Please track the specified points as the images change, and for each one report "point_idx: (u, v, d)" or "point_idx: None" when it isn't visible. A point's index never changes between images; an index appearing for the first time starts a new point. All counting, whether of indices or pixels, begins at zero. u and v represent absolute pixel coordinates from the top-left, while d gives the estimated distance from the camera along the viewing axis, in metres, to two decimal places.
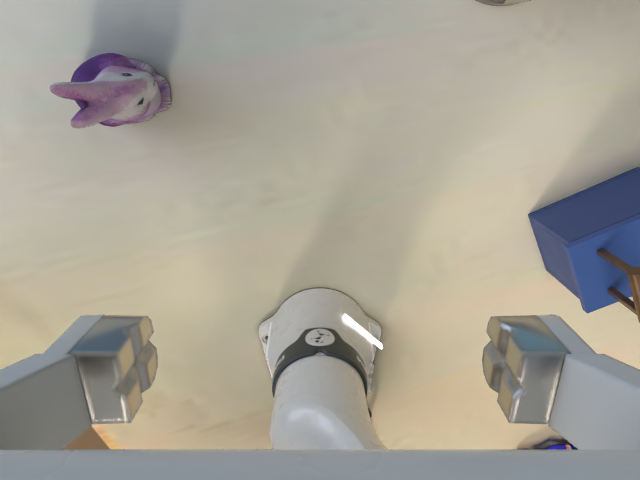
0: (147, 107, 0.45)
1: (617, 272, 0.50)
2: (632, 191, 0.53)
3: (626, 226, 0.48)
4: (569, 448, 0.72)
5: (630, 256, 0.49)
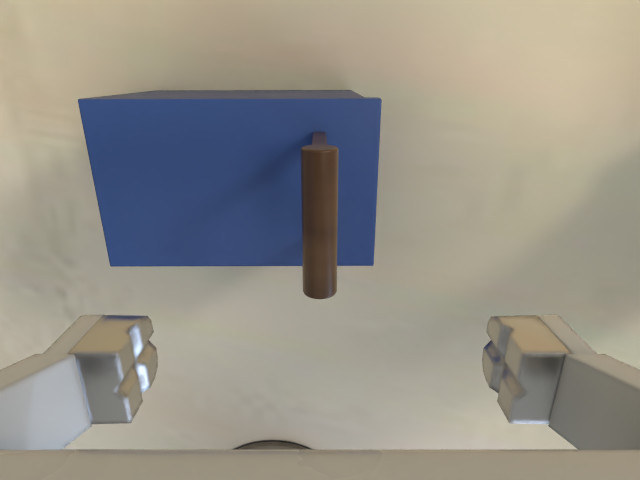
0: None
1: (296, 173, 0.24)
2: None
3: (263, 261, 0.26)
4: None
5: (267, 198, 0.24)
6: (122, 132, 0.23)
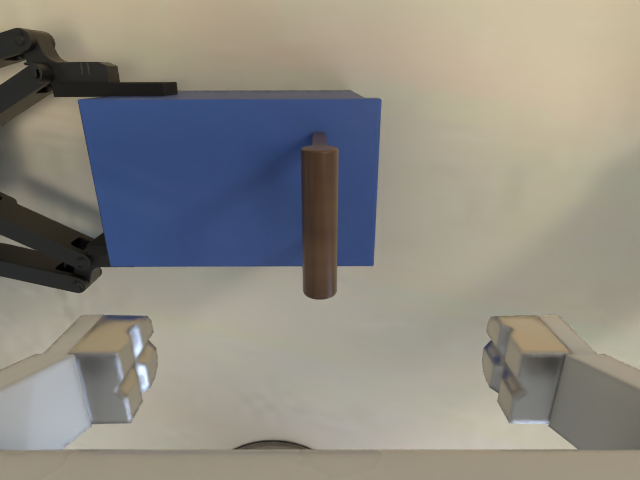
0: None
1: (296, 174, 0.24)
2: None
3: (263, 262, 0.26)
4: None
5: (267, 198, 0.24)
6: (122, 132, 0.23)
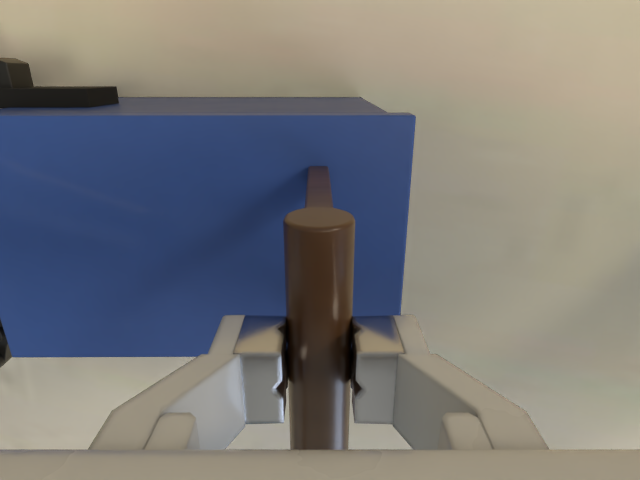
0: None
1: None
2: None
3: None
4: None
5: (239, 263, 0.16)
6: (13, 166, 0.15)
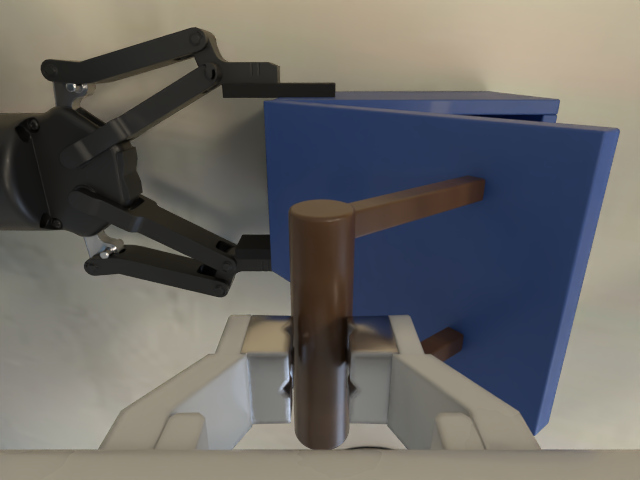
0: None
1: (436, 234, 0.15)
2: None
3: None
4: None
5: (397, 256, 0.17)
6: (287, 139, 0.21)
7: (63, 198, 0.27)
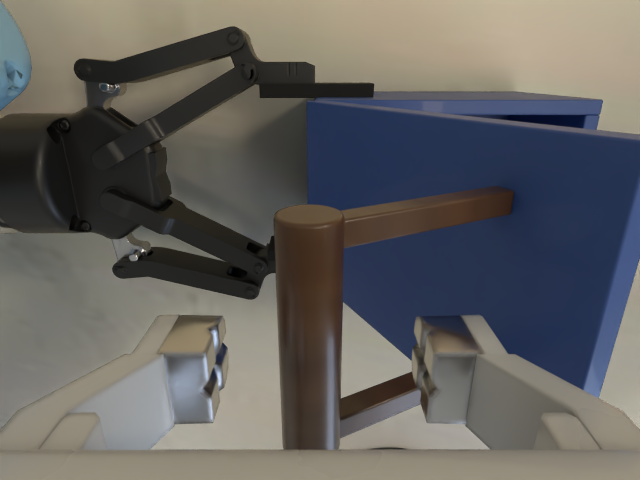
0: None
1: (462, 248, 0.14)
2: None
3: (407, 352, 0.17)
4: None
5: (422, 268, 0.16)
6: (325, 139, 0.20)
7: (93, 199, 0.27)
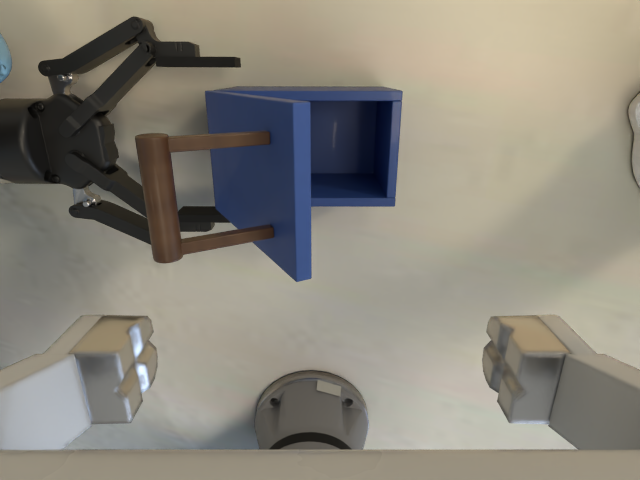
0: None
1: (261, 167, 0.25)
2: None
3: None
4: None
5: (252, 184, 0.27)
6: (214, 115, 0.32)
7: (61, 159, 0.39)
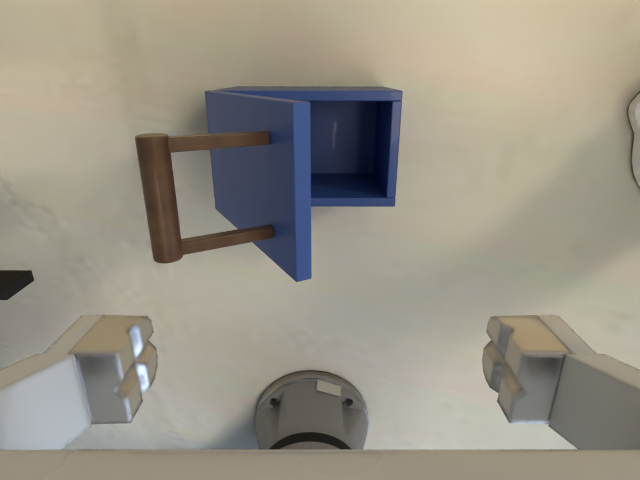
0: None
1: (261, 167, 0.25)
2: None
3: None
4: None
5: (252, 184, 0.27)
6: (214, 115, 0.32)
7: None
